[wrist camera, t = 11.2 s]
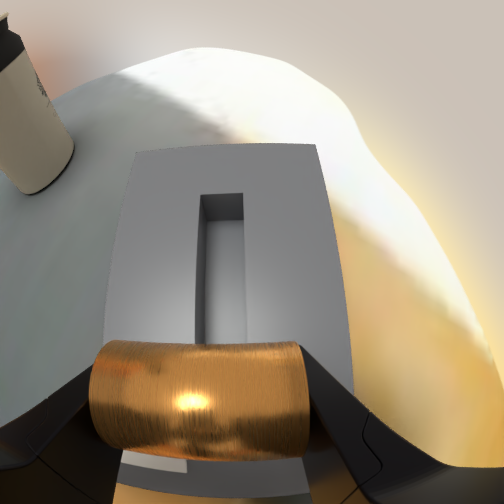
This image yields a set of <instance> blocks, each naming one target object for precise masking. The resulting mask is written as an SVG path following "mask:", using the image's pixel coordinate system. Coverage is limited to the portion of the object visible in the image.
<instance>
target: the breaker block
mask: <svg viewBox="0 0 504 504" xmlns="http://www.w3.org/2000/svg"><path fill="white" fill-rule="evenodd" d="M111 340H127V341H141V342H158V343H185V344H241V343H268V342H286V341H296V342H297V343H298V345H301V346H303V347H304V348H305V349H306V350H307V351H308V352H309V353H310V354H311V355H312V356H313V357H314V358H315V359H316V360H317V361H318V362H319V363H320V364H321V365H322V366H323V367H324V368H325V369H326V370H327V371H328V372H329V373H330V374H331V375H332V376H334V377H335V378H336V379H337V380H338V381H339V382H340V383H341V384H342V385H343V386H344V387H345V388H346V389H347V390H348V391H349V392H350V393H351V394H353V395H354V389H353V371H352V357H351V345H350V334H349V324H348V315H347V307H346V299H345V291H344V284H343V277H342V270H341V264H340V258H339V252H338V246H337V240H336V235H335V230H334V224H333V219H332V214H331V209H330V204H329V200H328V195H327V191H326V186H325V182H324V177H323V173H322V169H321V165H320V161H319V157H318V153H317V149H316V145H315V144H287V143H249V144H220V145H203V146H190V147H178V148H168V149H159V150H151V151H143V152H136V155H135V158H134V161H133V165H132V168H131V172H130V175H129V179H128V183H127V187H126V191H125V195H124V199H123V203H122V207H121V212H120V216H119V221H118V226H117V231H116V236H115V241H114V247H113V253H112V259H111V265H110V272H109V280H108V288H107V296H106V306H105V318H104V332H103V346H104V345H105V344H106V343H108V342H109V341H111ZM117 483H121V484H125V485H129V486H133V487H138V488H142V489H147V490H153V491H158V492H164V493H171V494H179V495H187V496H198V497H212V498H263V497H278V496H288V495H297V494H304V493H310V490H309V486H308V482H307V478H306V474H305V470H304V466H303V462H302V458H301V457H300V458H292V459H281V460H268V461H241V462H227V461H201V460H188V459H177V458H169V457H161V456H154V455H148V454H142V453H137V452H132V451H127V450H123V454H122V459H121V463H120V468H119V473H118V477H117Z"/></svg>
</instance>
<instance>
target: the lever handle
mask: <svg viewBox="0 0 504 504" xmlns="http://www.w3.org/2000/svg"><path fill="white" fill-rule="evenodd" d="M89 405H90V412H91V417H92V421H93V424H94V426H95V429H96V431H97V433H98V435H99V436H100V438H101V439H102V440H103V441H104V442H105V443H106V444H107V445H108V446H111V447H113V448H118V449H122V450H127V451H132V452H137V453H142V454H148V455H154V456H161V457H169V458H177V459H188V460H201V461H227V462H241V461H268V460H281V459H292V458H300V457H303V456H304V455H305V453H306V451H307V447H308V441H309V431H310V404H309V391H308V382H307V375H306V369H305V364H304V360H303V356H302V353H301V350H300V347H299V345H298V343H297V342H296V341H286V342H268V343H241V344H185V343H158V342H141V341H127V340H111V341H109V342H108V343H106V344H105V345H104V346H103V347H102V349H101V350H100V352H99V353H98V355H97V357H96V359H95V362H94V365H93V368H92V372H91V377H90V384H89Z"/></svg>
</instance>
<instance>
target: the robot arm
mask: <svg viewBox="0 0 504 504" xmlns="http://www.w3.org/2000/svg"><path fill="white" fill-rule="evenodd" d="M299 347H300V350H301V353H302V356H303V360H304V364H305V369H306V375H307V382H308V391H309V404H310V431H309V441H308V447H307V451H306V453H305V455H304V456H303V457H301V458H302V462H303V466H304V470H305V474H306V478H307V482H308V486H309V490H310V494H311V498H312V502H313V504H504V467H498V468H473V467H456V466H451V465H447V464H444V463H442V462H440V461H438V460H436V459H434V458H433V457H431V456H430V455H428V454H426V453H425V452H423V451H422V450H420V449H419V448H417V447H416V446H414V445H413V444H411V443H410V442H408V441H407V440H405V439H404V438H403V437H401V436H400V435H398V434H397V433H396V432H394V431H393V430H392V429H390V428H389V427H388V426H387V425H386V424H384V423H383V422H382V421H381V420H380V419H379V418H378V417H376V416H375V415H374V414H373V413H372V412H369V409H368V408H367V407H365V406H364V405H363V404H362V403H361V402H360V401H359V400H358V399H357V398H356V397H355V396H354V395H353V394H351V393H350V392H349V391H348V390H347V389H346V388H345V387H344V386H343V385H342V384H341V383H340V382H339V381H338V380H337V379H336V378H335V377H334V376H332V375H331V374H330V373H329V372H328V371H327V370H326V369H325V368H324V367H323V366H322V365H321V364H320V363H319V362H318V361H317V360H316V359H315V358H314V357H313V356H312V355H311V354H310V353H309V352H308V351H307V350H306V349H305V348H304V347H303V346H301V345H299ZM93 365H94V364H93ZM93 365H91V366H90V367H89V368H87V369H86V370H85V371H83V372H82V373H80V374H79V375H78V376H76V377H75V378H74V379H72V380H71V381H69V382H68V383H67V384H65V385H64V386H63V387H61V388H60V389H58V390H57V391H56V392H54V393H53V394H52V395H50V396H49V397H48V399H45V400H43V401H42V402H41V403H39V404H38V405H36V406H35V407H33V408H32V409H31V410H29V411H28V412H26V413H24V414H23V415H21V416H19V417H18V418H16V419H14V420H13V421H11V422H9V423H8V424H6V425H4V426H2V427H1V428H0V504H113V498H114V493H115V487H116V482H117V477H118V473H119V468H120V463H121V459H122V454H123V450H122V449H118V448H113V447H111V446H108V445H107V444H106V443H105V442H104V441H103V440H102V439H101V438H100V436H99V435H98V433H97V431H96V429H95V426H94V424H93V421H92V417H91V412H90V405H89V384H90V377H91V372H92V368H93Z"/></svg>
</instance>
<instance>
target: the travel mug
mask: <svg viewBox="0 0 504 504" xmlns="http://www.w3.org/2000/svg"><path fill="white" fill-rule="evenodd" d="M7 16H8V12H6V13H4V14H2V15H0V169H1V170H2V171H3V172H4V173H5V174H6V176H7V177H8V178H9V179H10V180H11V181H12V182H13V183H14V184H15V185H16V187H17V188H18V189H19V190H20V191H21V192H22V193H24V194H32V193H35V192H37V191H39V190H41V189H43V188H44V187H45V186H47V185H48V184H49V183H50V182H52V181H53V180H54V179H55V178H56V177H57V176H58V175H59V173H60V172H61V171H62V170H63V169H64V167H65V166H66V164H67V163H68V161H69V159H70V157H71V155H72V152H73V148H74V143H73V140H72V139H71V137H70V135H69V134H68V132H67V130H66V128H65V127H64V125H63V123H62V122H61V120H60V118H59V116H58V114H57V113H56V111H55V109H54V107H53V105H52V103H51V101H50V100H49V98H48V96H47V94H46V92H45V90H44V88H43V86H42V84H41V82H40V80H39V78H38V76H37V74H36V72H35V69H34V67H33V65H32V63H31V61H30V59H29V57H28V54H27V52H26V49H25V47H24V45H23V42H22V40H21V37H20V36H19V35H17V34H16V33H14V32H12V31H10V30H8V23H7Z"/></svg>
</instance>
